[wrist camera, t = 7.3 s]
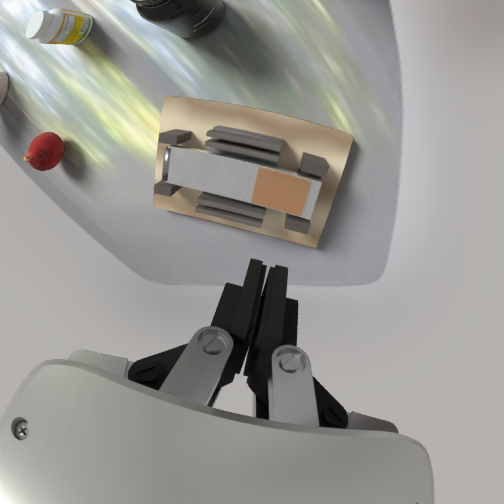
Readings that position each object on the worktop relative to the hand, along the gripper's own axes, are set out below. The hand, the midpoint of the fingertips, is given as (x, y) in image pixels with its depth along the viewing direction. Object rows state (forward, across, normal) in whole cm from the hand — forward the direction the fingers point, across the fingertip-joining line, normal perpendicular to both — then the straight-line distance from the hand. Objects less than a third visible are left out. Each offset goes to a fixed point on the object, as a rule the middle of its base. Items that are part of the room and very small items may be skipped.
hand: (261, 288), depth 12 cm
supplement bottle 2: (+22, +14, -17) cm, 31 cm away
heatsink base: (+21, +4, +1) cm, 22 cm away
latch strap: (+17, +4, +1) cm, 17 cm away
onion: (+22, +34, +2) cm, 40 cm away
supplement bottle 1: (+22, +33, -17) cm, 43 cm away
